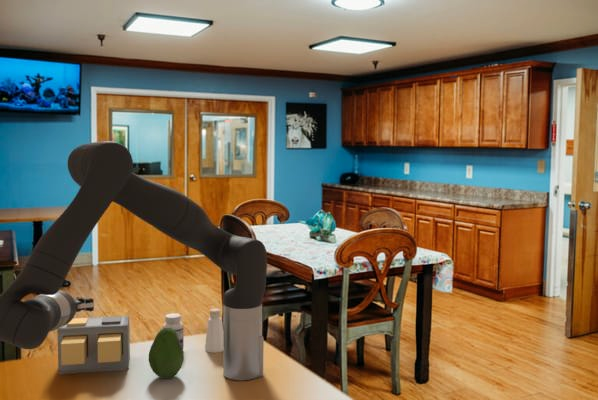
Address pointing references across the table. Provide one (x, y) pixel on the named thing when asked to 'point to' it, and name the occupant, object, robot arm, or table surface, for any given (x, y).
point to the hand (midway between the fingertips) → (75, 301)
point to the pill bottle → (175, 325)
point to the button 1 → (74, 349)
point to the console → (95, 342)
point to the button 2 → (109, 347)
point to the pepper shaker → (214, 332)
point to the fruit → (166, 354)
